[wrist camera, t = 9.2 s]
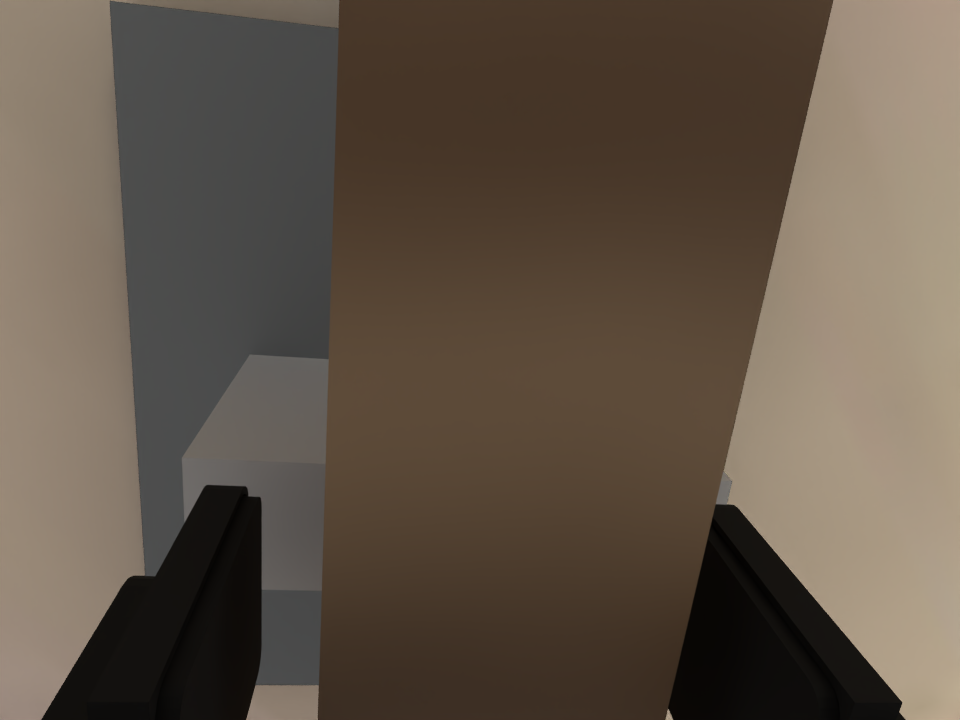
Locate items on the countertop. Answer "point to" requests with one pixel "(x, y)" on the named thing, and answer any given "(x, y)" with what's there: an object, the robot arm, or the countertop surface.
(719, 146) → the walnut bar
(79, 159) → the countertop surface
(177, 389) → the slate board
